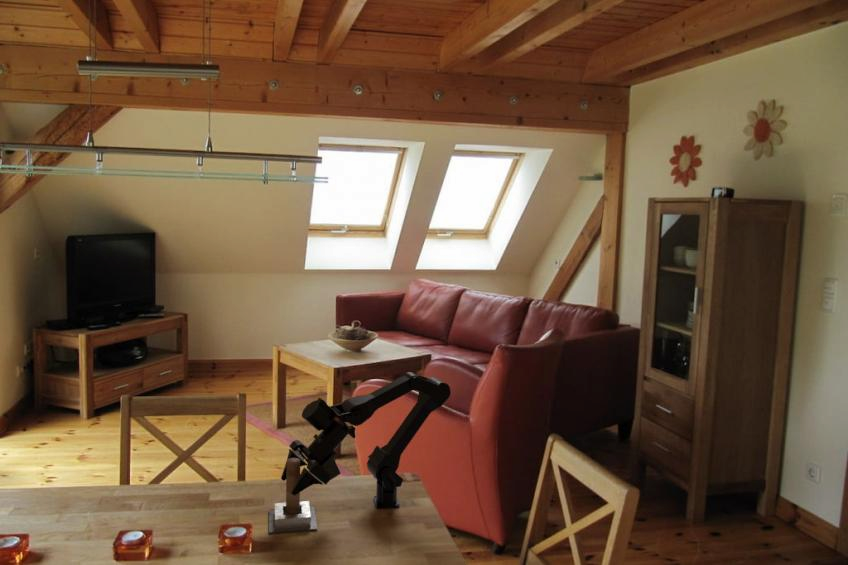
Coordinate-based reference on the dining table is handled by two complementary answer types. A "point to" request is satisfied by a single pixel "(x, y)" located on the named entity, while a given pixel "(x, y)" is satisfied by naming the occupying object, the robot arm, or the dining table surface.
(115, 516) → the dining table surface
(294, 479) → the walnut peg
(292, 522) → the steel socket
